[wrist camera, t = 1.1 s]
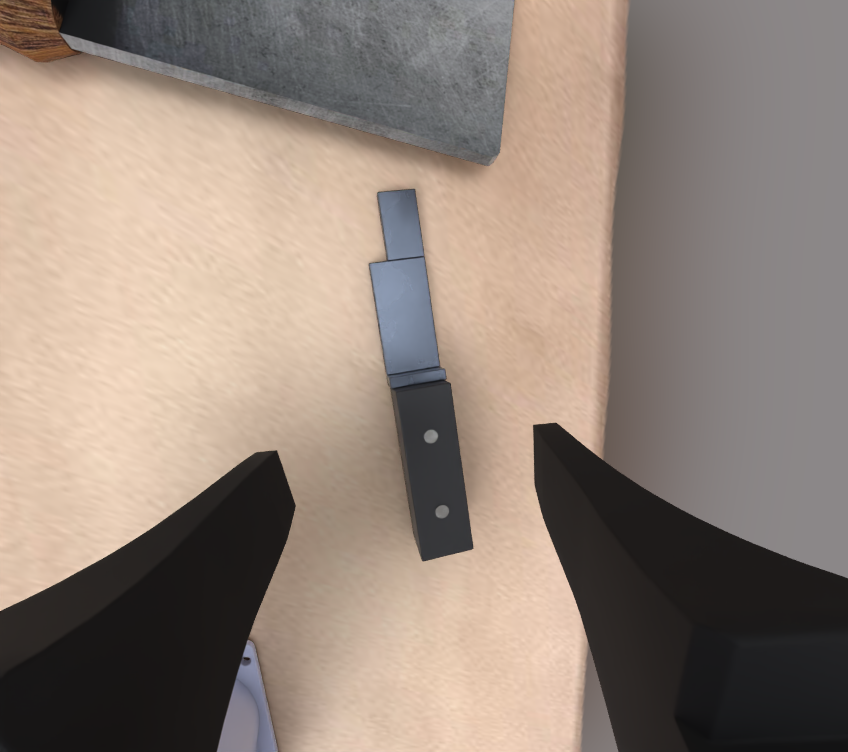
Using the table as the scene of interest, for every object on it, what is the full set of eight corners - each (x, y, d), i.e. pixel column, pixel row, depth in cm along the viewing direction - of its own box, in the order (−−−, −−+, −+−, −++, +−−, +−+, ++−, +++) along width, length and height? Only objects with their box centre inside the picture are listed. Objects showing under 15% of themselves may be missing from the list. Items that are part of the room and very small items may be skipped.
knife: (461, 525, 24) (476, 550, 22) (412, 536, 24) (420, 563, 21) (413, 190, 22) (423, 170, 19) (357, 196, 22) (359, 175, 19)
